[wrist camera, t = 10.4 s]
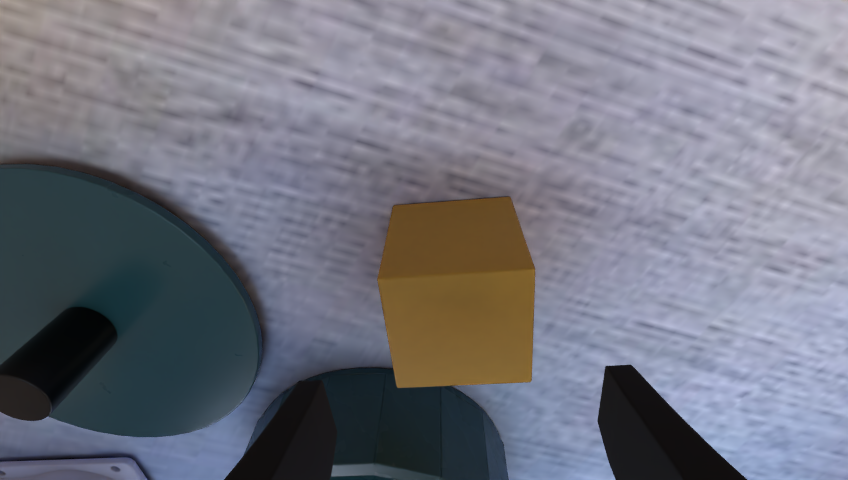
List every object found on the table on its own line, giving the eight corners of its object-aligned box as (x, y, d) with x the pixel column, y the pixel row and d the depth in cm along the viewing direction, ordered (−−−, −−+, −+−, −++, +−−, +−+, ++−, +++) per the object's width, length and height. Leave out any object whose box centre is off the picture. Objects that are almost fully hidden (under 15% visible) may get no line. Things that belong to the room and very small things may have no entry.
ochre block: (406, 298, 19) (396, 389, 15) (392, 204, 17) (376, 278, 13) (510, 292, 19) (532, 383, 14) (510, 195, 17) (535, 268, 12)
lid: (39, 424, 24) (-46, 518, 20) (-159, 173, 17) (-358, 235, 13) (299, 413, 23) (268, 509, 19) (205, 141, 16) (120, 196, 12)
